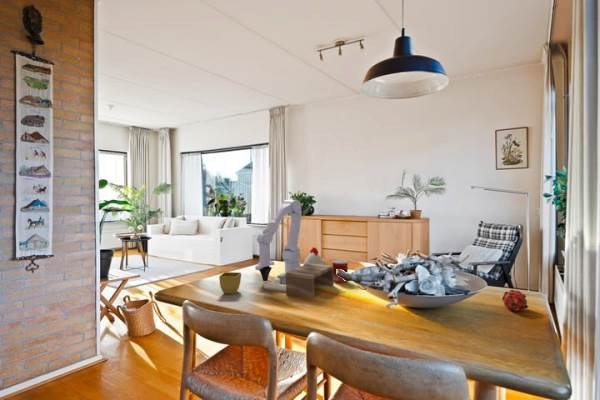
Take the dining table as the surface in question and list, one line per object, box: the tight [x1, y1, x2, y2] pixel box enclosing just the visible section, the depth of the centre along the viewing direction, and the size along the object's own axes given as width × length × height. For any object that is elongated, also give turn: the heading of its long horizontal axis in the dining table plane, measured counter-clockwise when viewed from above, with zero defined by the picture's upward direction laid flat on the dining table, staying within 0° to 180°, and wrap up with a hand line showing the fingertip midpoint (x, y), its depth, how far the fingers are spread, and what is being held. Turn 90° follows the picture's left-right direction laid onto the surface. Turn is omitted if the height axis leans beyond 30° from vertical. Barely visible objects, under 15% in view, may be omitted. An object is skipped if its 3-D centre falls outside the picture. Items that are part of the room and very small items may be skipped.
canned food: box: [332, 259, 349, 284], centre depth 183 cm, size 8×8×11 cm
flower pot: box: [218, 271, 242, 295], centre depth 165 cm, size 9×9×9 cm
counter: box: [285, 263, 335, 300], centre depth 168 cm, size 24×14×10 cm, turn 151°
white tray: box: [263, 272, 286, 293], centre depth 175 cm, size 16×13×6 cm
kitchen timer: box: [302, 247, 326, 266], centre depth 204 cm, size 14×14×15 cm
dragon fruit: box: [501, 289, 529, 312], centre depth 137 cm, size 8×8×12 cm
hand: (265, 280), depth 181 cm, fingers closed
